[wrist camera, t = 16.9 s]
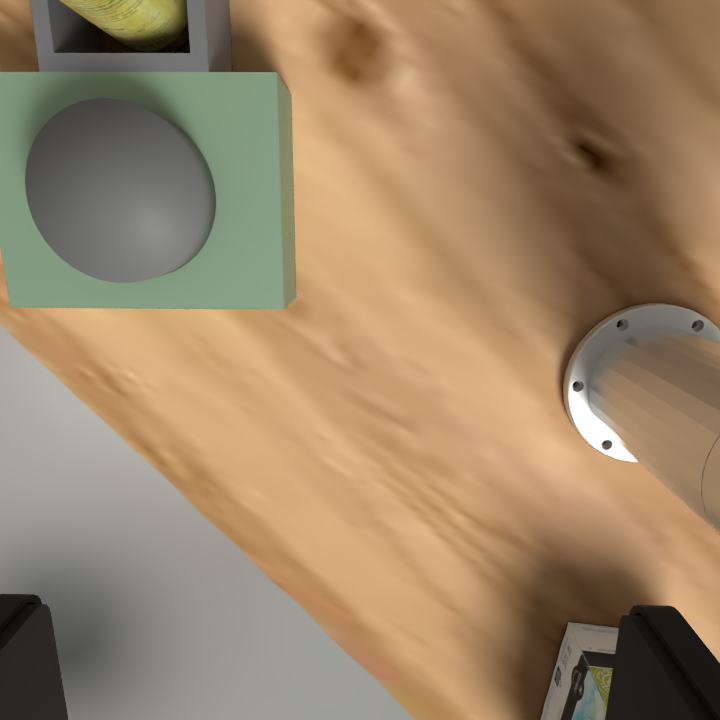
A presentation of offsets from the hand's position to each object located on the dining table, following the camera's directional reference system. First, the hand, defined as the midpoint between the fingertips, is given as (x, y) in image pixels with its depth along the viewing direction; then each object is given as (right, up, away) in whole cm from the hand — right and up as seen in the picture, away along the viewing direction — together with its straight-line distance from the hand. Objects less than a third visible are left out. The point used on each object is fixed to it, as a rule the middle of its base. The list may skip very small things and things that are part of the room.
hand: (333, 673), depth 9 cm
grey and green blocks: (-13, +22, +29) cm, 39 cm away
